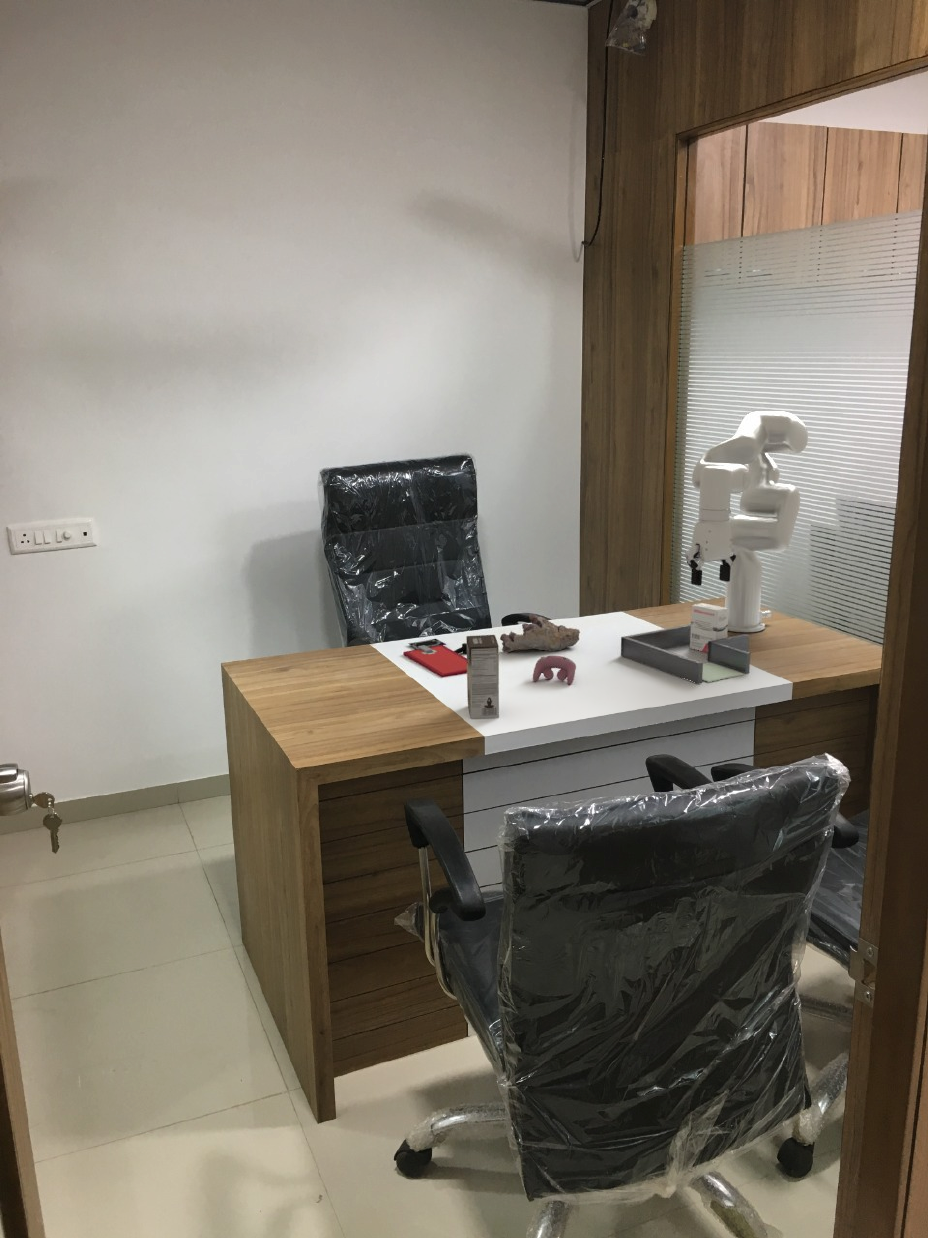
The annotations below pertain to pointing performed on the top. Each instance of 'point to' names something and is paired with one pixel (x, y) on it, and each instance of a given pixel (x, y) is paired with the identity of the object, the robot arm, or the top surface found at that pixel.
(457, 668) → the red board with handle
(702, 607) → the ink box
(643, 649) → the gray open tray
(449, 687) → the top surface
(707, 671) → the pad
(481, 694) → the coffee box
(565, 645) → the mineral specimen
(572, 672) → the video game controller
